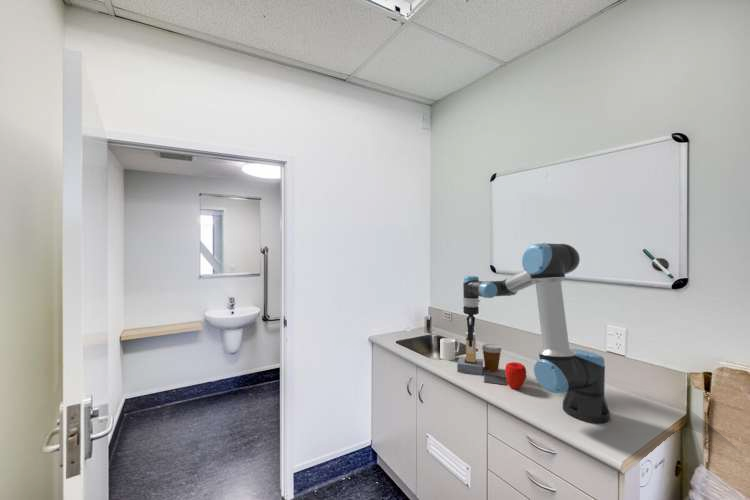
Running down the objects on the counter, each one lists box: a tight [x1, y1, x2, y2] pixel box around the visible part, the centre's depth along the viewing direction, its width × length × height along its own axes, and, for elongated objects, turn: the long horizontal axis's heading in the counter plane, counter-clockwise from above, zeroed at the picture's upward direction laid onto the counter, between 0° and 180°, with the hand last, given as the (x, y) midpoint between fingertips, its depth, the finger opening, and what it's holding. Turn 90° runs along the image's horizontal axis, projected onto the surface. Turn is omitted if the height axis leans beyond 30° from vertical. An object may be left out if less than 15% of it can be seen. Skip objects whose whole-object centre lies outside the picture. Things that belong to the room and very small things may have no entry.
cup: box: [439, 337, 461, 361], centre depth 186 cm, size 8×12×10 cm
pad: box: [483, 373, 508, 387], centre depth 154 cm, size 10×10×1 cm
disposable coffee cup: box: [481, 343, 502, 373], centre depth 167 cm, size 10×10×12 cm
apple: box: [504, 361, 527, 390], centre depth 146 cm, size 9×9×11 cm
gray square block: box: [456, 356, 484, 376], centre depth 168 cm, size 12×12×4 cm
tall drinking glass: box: [465, 331, 477, 362], centre depth 167 cm, size 5×5×14 cm
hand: (470, 351), depth 167 cm, fingers closed on tall drinking glass, 5 cm apart
